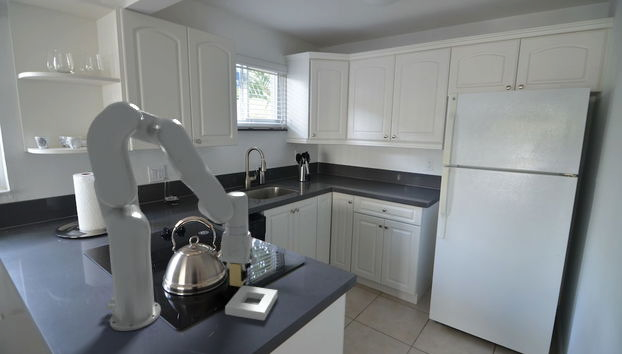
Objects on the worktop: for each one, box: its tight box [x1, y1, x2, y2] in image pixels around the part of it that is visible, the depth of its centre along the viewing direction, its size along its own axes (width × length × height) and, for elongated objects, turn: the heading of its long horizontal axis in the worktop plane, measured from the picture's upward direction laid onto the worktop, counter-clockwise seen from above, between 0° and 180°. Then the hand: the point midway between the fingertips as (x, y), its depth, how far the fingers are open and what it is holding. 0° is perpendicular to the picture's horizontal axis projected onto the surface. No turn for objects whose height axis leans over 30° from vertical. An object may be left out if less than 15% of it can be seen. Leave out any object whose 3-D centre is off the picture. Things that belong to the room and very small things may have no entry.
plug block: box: [229, 262, 247, 288], centre depth 106 cm, size 4×4×8 cm
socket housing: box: [224, 284, 278, 321], centre depth 94 cm, size 12×12×2 cm
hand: (237, 278), depth 106 cm, fingers closed on plug block, 3 cm apart
